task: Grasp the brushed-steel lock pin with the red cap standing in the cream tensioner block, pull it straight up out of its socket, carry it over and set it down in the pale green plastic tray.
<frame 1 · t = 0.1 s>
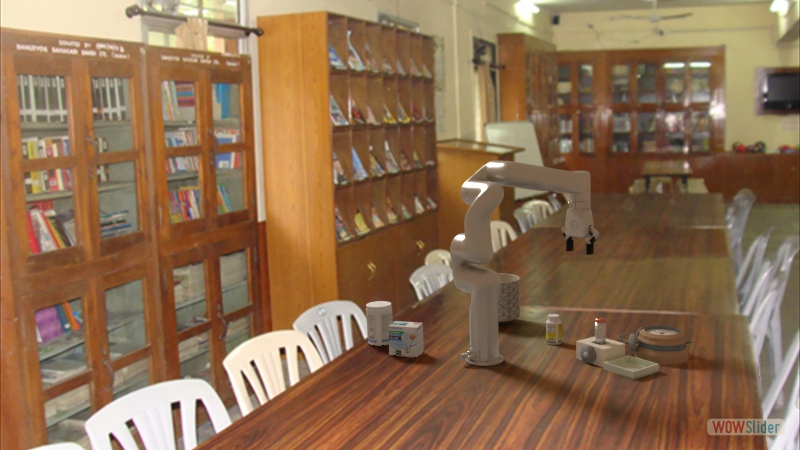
hand: (579, 252, 281), 31 cm above the table, fingers open, 9 cm apart
supplement tub: (380, 343, 285), on the table
tensioner block: (600, 359, 258), on the table
planter: (495, 323, 308), on the table
lock pin: (600, 351, 257), point 3 cm above the table, touching tensioner block
supplement bottle: (553, 343, 278), on the table
tray: (630, 370, 246), on the table
alarm clock: (652, 356, 261), on the table
light bulb box: (406, 354, 271), on the table
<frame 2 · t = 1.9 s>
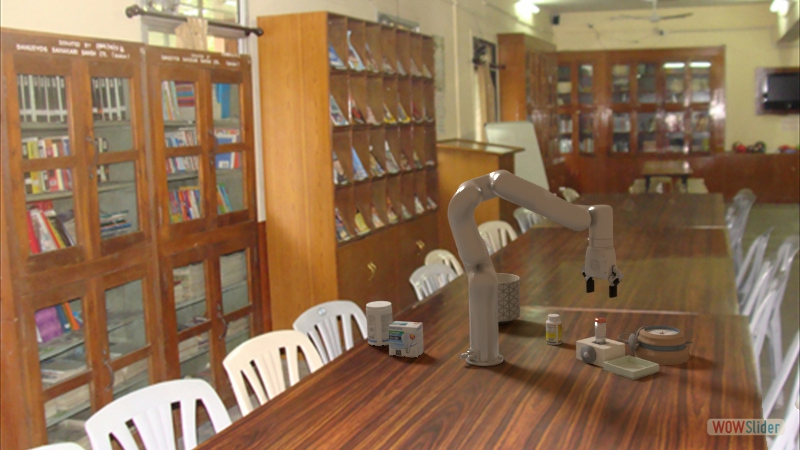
hand: (601, 294, 255), 22 cm above the table, fingers open, 9 cm apart
nothing on the table moved.
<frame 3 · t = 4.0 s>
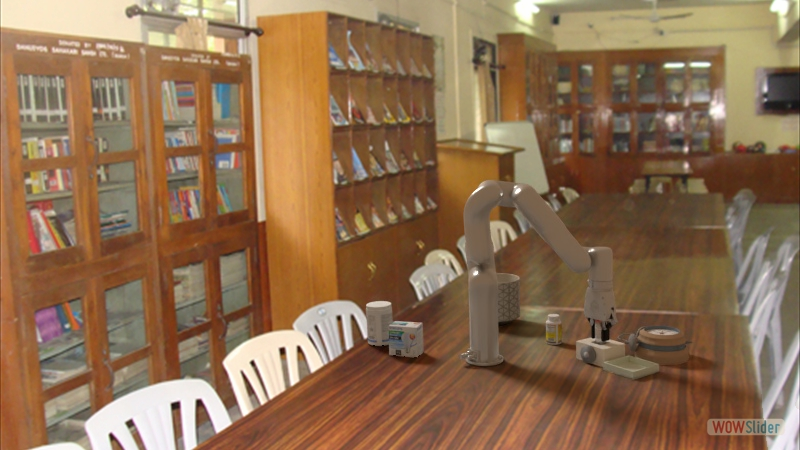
hand: (600, 338, 257), 7 cm above the table, fingers closed on lock pin, 3 cm apart
lock pin: (600, 351, 257), point 3 cm above the table, touching gripper, tensioner block
everything else where it was.
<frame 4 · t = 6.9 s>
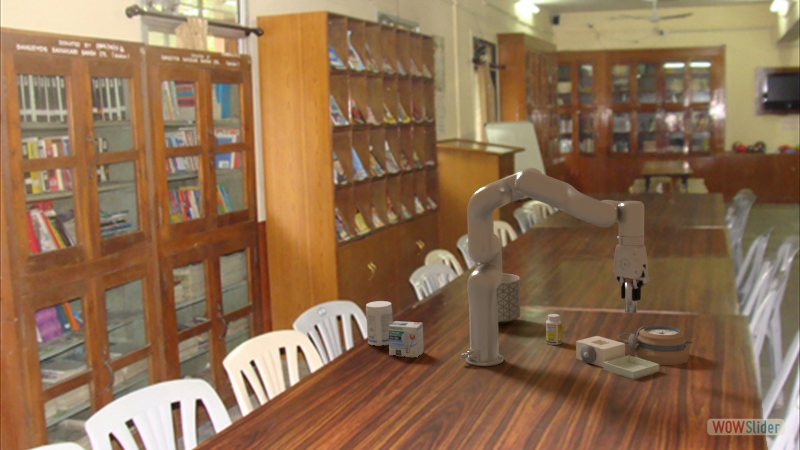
hand: (630, 298, 243), 23 cm above the table, fingers closed on lock pin, 3 cm apart
lock pin: (630, 311, 244), point 19 cm above the table, touching gripper
everything else where it was.
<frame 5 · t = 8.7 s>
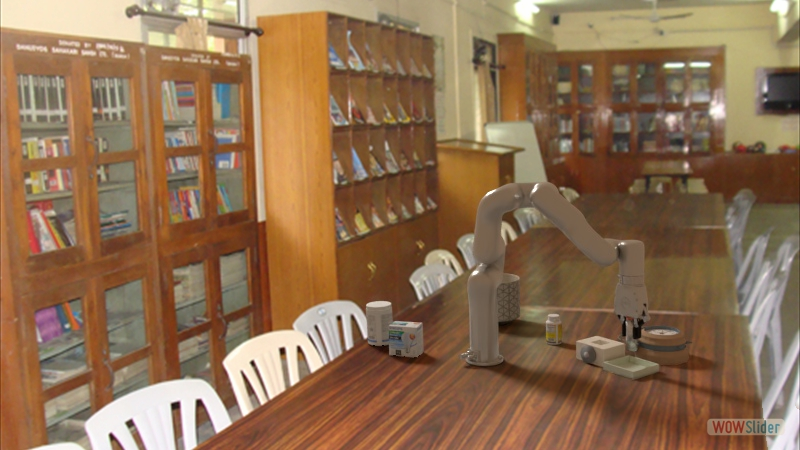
hand: (631, 336, 245), 11 cm above the table, fingers closed on lock pin, 3 cm apart
lock pin: (631, 349, 245), point 7 cm above the table, touching gripper
everything else where it was.
when the fingers open (7 cm above the table, at t = 10.2 s): lock pin drops 2 cm, resting on tray.
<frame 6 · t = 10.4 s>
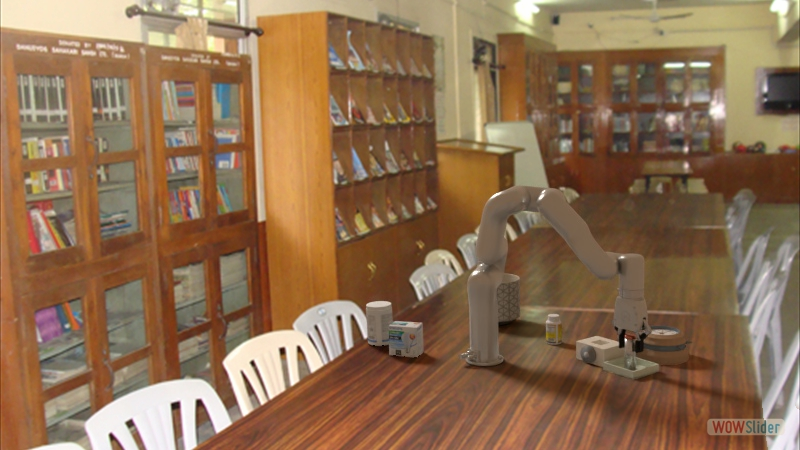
hand: (630, 349, 245), 7 cm above the table, fingers open, 5 cm apart
lock pin: (630, 368, 246), point 1 cm above the table, touching tray
everything else where it was.
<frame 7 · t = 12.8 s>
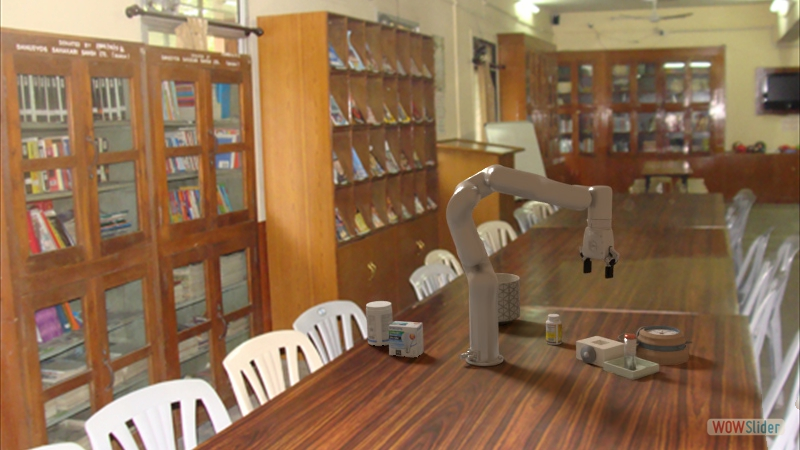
hand: (598, 275, 256), 28 cm above the table, fingers open, 9 cm apart
nothing on the table moved.
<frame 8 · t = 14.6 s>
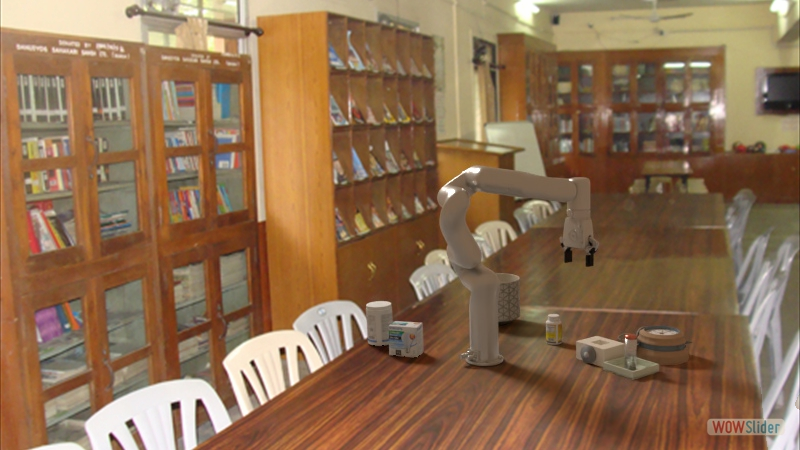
hand: (578, 264, 264), 30 cm above the table, fingers open, 9 cm apart
nothing on the table moved.
at the end: lock pin inside the target area on the tray (0.2 cm from its centre), point 0.6 cm above the tray's base; lock pin touching tray; the gripper is holding nothing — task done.
